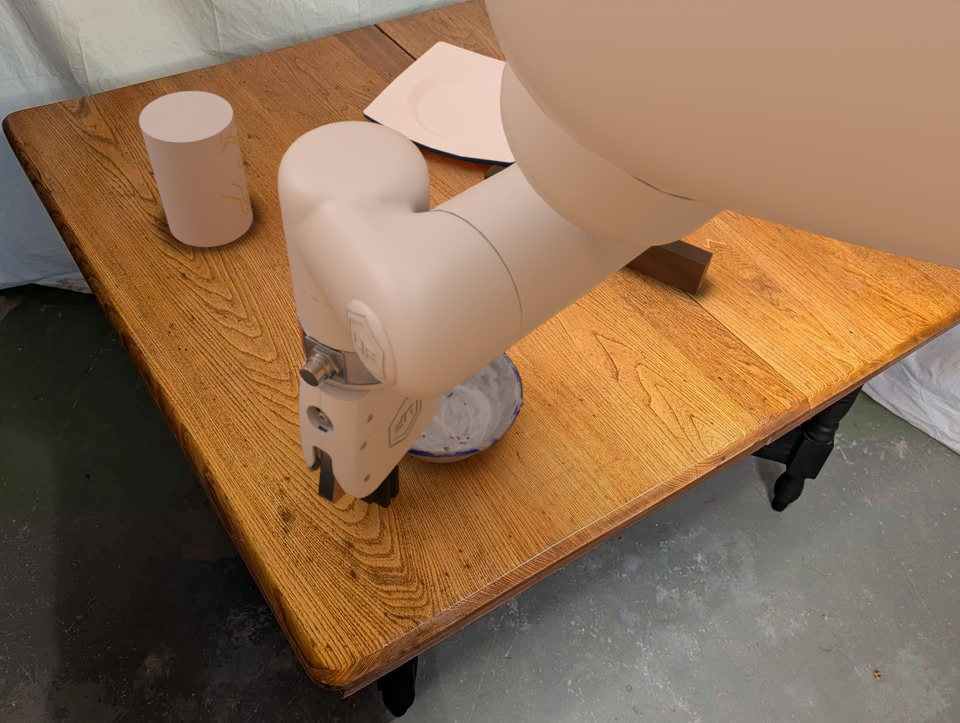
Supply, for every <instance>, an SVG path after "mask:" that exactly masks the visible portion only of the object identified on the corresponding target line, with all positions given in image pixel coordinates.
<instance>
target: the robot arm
mask: <svg viewBox="0 0 960 723" xmlns="http://www.w3.org/2000/svg"><path fill="white" fill-rule="evenodd" d="M483 1H484V4H485V8H486V11H487V14H488V15H487V16H488V18H489V22H490V25H491V28H492V31H493V33H494V36H495V38H496V40H497V43H498V45H499V47H500V50H501V51H502V53H503V55H504V57H505V60H506V61H505V62H506V63H505V66H504V69H503V74H502V80H501V90H500V113H501V119H502V125H503V130H504V133H505V136H506V139H507V142H508V145H509V148H510V150H511V153H512V155H513V157H514V159H515V161H516V162H515V163H514V164H512V165H511V166H509V167H505V168H504V170H503V171H501V172H499V173H497V174H495V175H493V176H491V177H490V178H488V179H486V180H484V179H483V180H481V181H479V182H478V183H476V184H474V185H472V186H470V187H468V188H467V189H465V190H464V191H461V192H460V193H458V194H456V195H455V196H453V197H451V198H449V199H447V200H446V201H444V202H442V203H441V204H438V205H437V206H434V207H433V208H431V182H430V172H429V169H428V165H427V162H426V160H425V158H424V156H423V154H422V152H421V150H420V149H419V147H418V146H416V145H415V144H414V143H413V142H412V141H411V140H410V139H408V138H407V137H406V136H405V135H403V134H401V133H400V132H398V131H396V130H394V129H391V128H389V127H386V126H383V125H380V124H376V123H372V122H371V121H365V120H344V121H343V120H342V121H337V122H331V123H327V124H323V125H319V126H318V127H315V128H314V129H311V130H309V131H307V132H305V133H304V134H302V135H301V136H299V137H298V138H296V139H295V140H294V142H292V143H291V144H290V146H289V147H288V148H287V150H286V152H284V154H283V155H282V158H281V160H280V164H279V167H278V169H277V170H278V172H277V194H278V200H279V207H280V213H281V220H282V227H283V234H284V241H285V243H286V244H285V246H286V251H287V259H288V264H289V271H290V277H291V284H292V285H291V286H292V291H293V297H294V303H295V311H296V316H297V324H298V330H299V337H300V343H301V349H302V355H303V359H304V361H303V363H302V365H301V367H300V369H299V375H300V376H299V390H298V391H299V393H298V420H299V421H298V422H299V434H300V435H299V436H300V443H301V451H302V454H303V458H304V462H305V465H306V467H307V469H308V471H309V472H310V473H313V472H317V471H318V470H319V477H318V478H319V479H318V488H317V489H318V491H317V495H318V496H319V497H320V498H323V499H324V500H326V501H327V502H329V503H331V504H332V505H335V504H337V503H338V502H339V501H340V500H341V499H342V498H343V497H344V496H345V495H346V494H347V495H350V496H351V497H354V498H355V499H359V500H361V501H362V502H364V503H366V504H367V505H373V503H374V504H375V505H378V506H379V507H381V508H382V509H385V510H387V509H388V508H389V507H390V505H391V504H392V500H393V499H396V498H397V497H398V495H399V494H400V471H399V462H400V461H401V460H402V458H403V457H404V456H405V455H406V454H407V453H406V452H407V451H408V450H409V448H410V447H411V446H412V445H413V443H414V442H415V441H416V440H417V438H418V437H419V436H420V435H421V433H422V432H423V431H424V429H425V428H426V427H427V425H428V424H429V423H430V421H431V420H432V419H433V417H434V415H435V414H436V412H437V410H438V408H439V405H440V395H442V394H444V393H446V392H447V391H449V390H451V389H453V388H454V387H456V386H457V385H459V384H460V383H461V382H463V381H464V380H466V379H467V378H469V377H470V376H471V375H473V374H474V373H476V372H477V371H479V370H480V369H481V368H483V367H484V366H486V365H487V364H489V363H490V362H491V361H493V360H494V359H496V358H497V357H499V356H500V355H501V354H503V353H504V352H505V353H506V352H508V351H509V350H510V349H511V348H512V347H514V346H515V345H516V344H517V343H519V342H520V341H521V340H523V339H524V338H526V337H527V336H528V335H530V334H531V333H533V332H534V331H535V330H537V329H538V328H540V327H541V326H543V325H544V324H546V323H547V322H548V321H549V320H552V319H553V318H554V317H556V315H558V314H560V313H561V312H562V311H565V309H567V308H568V307H569V308H570V306H571V305H573V304H575V303H576V302H578V301H579V300H580V299H582V298H583V297H585V296H586V295H588V294H589V293H590V292H591V291H593V290H595V289H596V288H597V287H599V286H600V285H602V284H603V283H604V282H605V281H607V280H608V279H609V278H610V277H612V276H613V275H615V274H616V273H617V272H618V271H620V270H621V269H622V268H624V267H626V266H625V265H626V264H628V263H629V262H630V261H632V260H633V259H634V258H636V257H637V256H639V255H640V254H641V253H643V252H644V251H645V250H647V249H648V248H649V247H651V246H656V245H663V244H668V243H671V242H674V241H677V240H682V239H684V238H686V237H688V236H691V235H692V234H694V232H696V231H697V230H699V229H700V228H703V227H704V226H705V225H706V224H707V223H709V222H711V221H712V220H713V219H715V217H717V216H719V215H720V214H721V213H723V212H724V211H730V212H733V213H736V214H739V215H743V216H746V217H750V218H753V219H758V220H761V221H763V222H764V221H765V222H769V223H772V224H776V225H779V226H784V227H787V228H791V229H794V230H798V231H803V232H806V233H810V234H813V235H816V236H821V237H824V238H827V239H831V240H835V241H839V242H843V243H846V244H850V245H854V246H859V247H863V248H868V249H872V250H875V251H880V252H884V253H888V254H892V255H896V256H901V257H904V258H907V259H912V260H916V261H919V262H924V263H928V264H933V265H936V266H941V267H945V268H949V269H954V270H958V271H960V0H483ZM430 208H431V209H430Z"/></svg>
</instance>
